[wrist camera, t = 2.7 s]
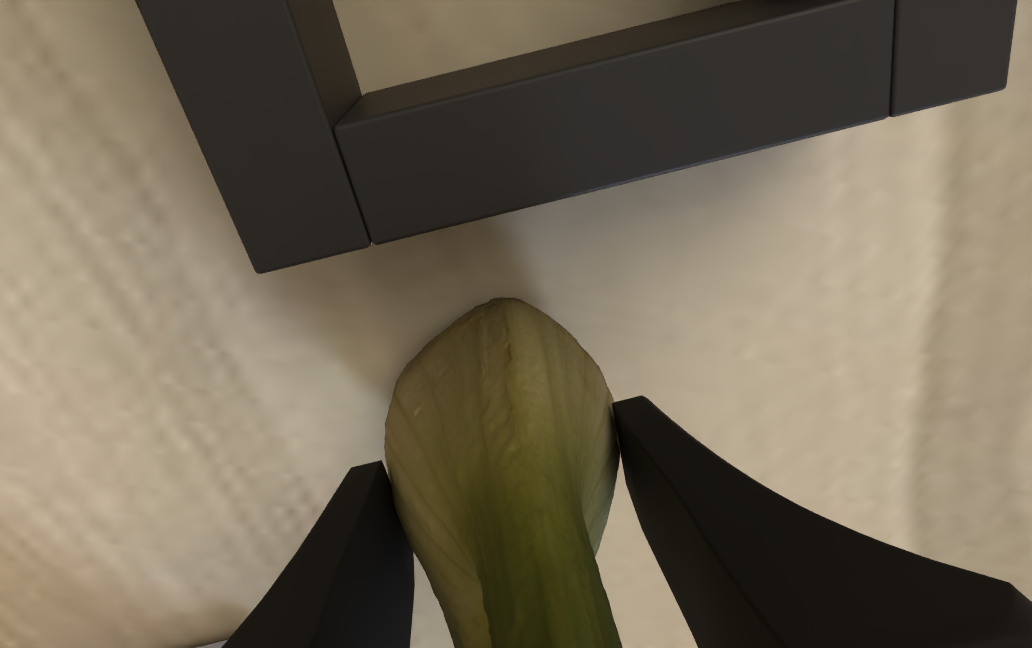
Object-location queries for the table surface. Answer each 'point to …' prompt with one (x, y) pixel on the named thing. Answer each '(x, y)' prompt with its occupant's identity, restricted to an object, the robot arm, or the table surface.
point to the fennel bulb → (507, 478)
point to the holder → (538, 107)
